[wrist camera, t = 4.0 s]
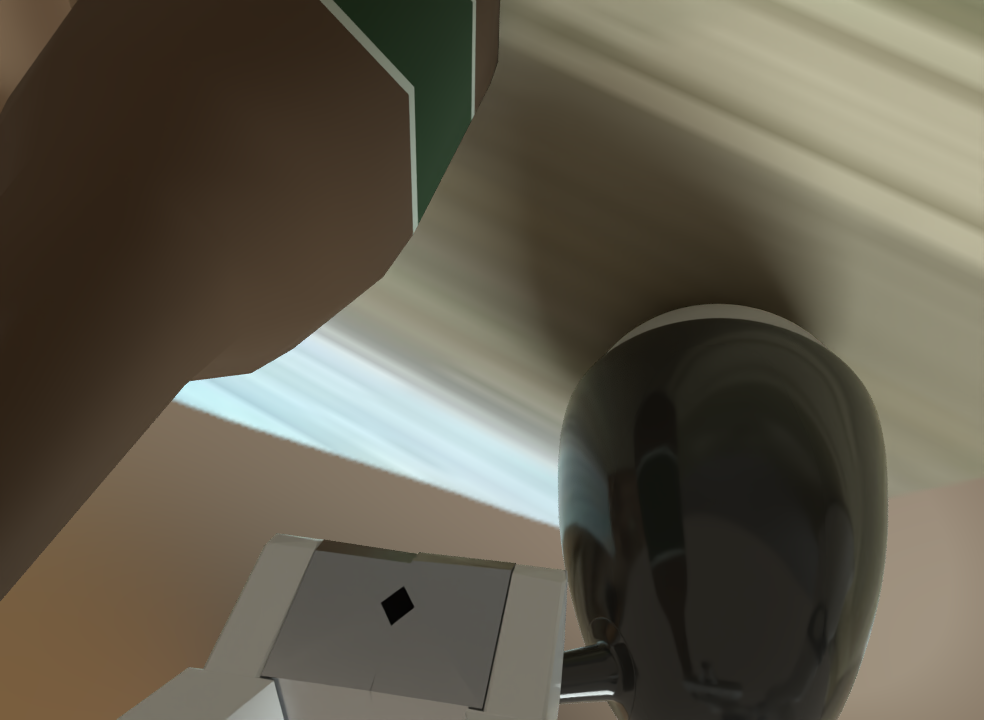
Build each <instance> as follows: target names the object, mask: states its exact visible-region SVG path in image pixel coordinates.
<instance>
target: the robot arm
mask: <svg viewBox="0 0 984 720" xmlns="http://www.w3.org/2000/svg"><path fill="white" fill-rule="evenodd" d="M567 583H568V574H567V571H566V570H559V569H551V568H543V567H535V566H527V565H519V564H516V563H510V562H501V561H492V560H482V559H474V558H465V557H456V556H447V555H439V554H429V553H421V552H419V553H418V554H415V553H408V552H402V551H395V550H389V549H382V548H376V547H369V546H362V545H356V544H349V543H343V542H336V541H330V540H321V539H314V538H307V537H300V536H292V535H285V534H276V535H275V536H274V537H273V538H272V539H271V540H270V541H269V542H268V543H267V544H266V545H265V546H264V548H263V550H262V552H261V554H260V556H259V558H258V560H257V562H256V564H255V566H254V568H253V570H252V572H251V574H250V576H249V578H248V580H247V582H246V584H245V586H244V588H243V590H242V592H241V594H240V596H239V598H238V600H237V602H236V604H235V606H234V608H233V610H232V612H231V614H230V616H229V618H228V620H227V622H226V624H225V626H224V628H223V630H222V632H221V634H220V636H219V638H218V640H217V642H216V644H215V646H214V648H213V650H212V652H211V654H210V656H209V658H208V660H207V662H206V664H205V666H204V668H203V669H198V668H187V669H186V670H184V671H183V672H182V673H180V674H179V675H177V676H176V677H175V678H173V679H172V680H171V681H169V682H168V683H166V684H165V685H164V686H162V687H161V688H159V689H158V690H157V691H155V692H154V693H153V694H151V695H150V696H148V697H147V698H146V699H144V700H143V701H142V702H140V703H139V704H137V705H136V706H135V707H133V708H132V709H130V710H129V711H128V712H126V713H125V714H124V715H122V716H121V717H119V718H118V719H117V720H557V715H558V708H559V700H560V690H561V678H562V666H563V653H564V640H565V621H566V602H567Z"/></svg>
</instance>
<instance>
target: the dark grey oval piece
mask: <svg viewBox="0 0 984 720" xmlns="http://www.w3.org/2000/svg"><path fill="white" fill-rule="evenodd" d="M558 508H559V525H560V536H561V544H562V552H563V559H564V565H565V570H566V571H567V574H568V585H569V590H570V594H571V599H572V603H573V607H574V610H575V614H576V618H577V621H578V625H579V628H580V631H581V634H582V637H583V640H584V643H585V647H581V648H576V649H572V650H567V651H564V653H563V666H562V678H561V690H560V700H559V704H569V703H585V702H601V701H607V702H608V704H609V706H610V708H611V709H612V711H613V712H614V714H615V716H616V718H617V719H618V720H837V719H838V718H839V716H840V714H841V712H842V710H843V708H844V705H845V703H846V701H847V699H848V697H849V694H850V692H851V689H852V687H853V684H854V682H855V679H856V676H857V674H858V671H859V668H860V665H861V662H862V659H863V657H864V654H865V650H866V647H867V644H868V641H869V637H870V634H871V630H872V626H873V622H874V619H875V615H876V611H877V606H878V602H879V597H880V592H881V586H882V580H883V574H884V567H885V559H886V548H887V534H888V478H887V460H886V451H885V444H884V438H883V433H882V428H881V424H880V420H879V417H878V413H877V410H876V407H875V405H874V403H873V400H872V398H871V396H870V394H869V393H868V391H867V389H866V387H865V386H864V384H863V383H862V382H861V380H860V379H859V378H858V376H857V375H856V374H855V373H854V372H853V371H852V369H851V368H850V367H849V366H848V365H847V364H846V363H844V362H843V361H842V360H841V359H840V358H839V357H837V356H836V355H835V354H833V353H832V352H831V351H830V350H829V349H828V348H827V347H826V346H825V345H824V344H822V343H821V342H820V341H819V340H818V339H817V338H815V337H814V336H813V335H812V334H810V333H809V332H807V331H806V330H804V329H803V328H801V327H800V326H798V325H796V324H794V323H793V322H791V321H789V320H787V319H785V318H783V317H780V316H778V315H775V314H773V313H770V312H767V311H764V310H760V309H756V308H752V307H747V306H740V305H733V304H705V305H696V306H690V307H685V308H680V309H677V310H673V311H670V312H667V313H664V314H662V315H659V316H657V317H655V318H653V319H650V320H648V321H646V322H645V323H643V324H641V325H640V326H638V327H636V328H635V329H633V330H632V331H630V332H629V333H628V334H626V335H625V336H624V337H622V338H621V339H620V340H619V341H618V342H617V343H616V344H615V345H614V346H613V347H612V348H611V349H610V350H609V351H608V352H607V353H606V354H605V355H604V356H603V357H602V358H600V359H599V360H598V361H597V362H596V363H595V364H594V365H593V366H592V367H591V368H590V369H589V370H588V371H587V373H586V374H585V375H584V376H583V378H582V379H581V380H580V382H579V383H578V385H577V387H576V388H575V390H574V392H573V394H572V396H571V398H570V400H569V403H568V406H567V409H566V412H565V416H564V420H563V425H562V430H561V437H560V444H559V456H558Z"/></svg>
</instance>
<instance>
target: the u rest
mask: <svg viewBox="0 0 984 720" xmlns="http://www.w3.org/2000/svg"><path fill="white" fill-rule="evenodd" d="M77 1H78V0H0V114H1V112H2V110H3V107H4V105H5V103H6V101H7V99H8V98H9V96H10V95H11V93H12V92H13V91H14V89H15V88H16V86H17V85H18V84H19V82H20V81H21V79H22V78H23V76H24V75H25V74H26V72H27V71H28V69H29V68H30V67H31V65H32V64H33V62H34V61H35V60H36V58H37V57H38V55H39V54H40V53H41V51H42V50H43V48H44V47H45V46H46V44H47V43H48V41H49V40H50V39H51V37H52V36H53V34H54V33H55V31H56V30H57V29H58V27H59V26H60V24H61V23H62V22H63V20H64V19H65V17H66V16H67V15H68V13H69V12H70V10H71V9H72V8H73V6H74V5H75V3H76V2H77Z"/></svg>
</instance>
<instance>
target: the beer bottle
mask: <svg viewBox="0 0 984 720" xmlns="http://www.w3.org/2000/svg"><path fill="white" fill-rule="evenodd" d="M499 13H500V0H78V1H77V2H76V3H75V5H74V6H73V8H72V9H71V10H70V12H69V13H68V15H67V16H66V17H65V19H64V20H63V22H62V23H61V24H60V26H59V27H58V29H57V30H56V31H55V33H54V34H53V36H52V37H51V39H50V40H49V41H48V43H47V44H46V46H45V47H44V48H43V50H42V51H41V53H40V54H39V55H38V57H37V58H36V60H35V61H34V62H33V64H32V65H31V67H30V68H29V69H28V71H27V72H26V74H25V75H24V76H23V78H22V79H21V81H20V82H19V84H18V85H17V86H16V88H15V89H14V91H13V92H12V93H11V95H10V96H9V98H8V99H7V101H6V103H5V105H4V107H3V110H2V112H1V114H0V601H1V600H2V599H3V598H4V596H5V595H6V594H7V593H8V592H9V591H10V589H11V588H12V587H13V586H14V585H15V584H16V582H17V581H18V580H19V579H20V578H21V576H22V575H23V574H24V573H25V572H26V570H27V569H28V568H29V567H30V566H31V565H32V564H33V562H34V561H35V560H36V559H37V558H38V557H39V555H40V554H41V553H42V552H43V551H44V550H45V548H46V547H47V546H48V545H49V544H50V543H51V541H52V540H53V539H54V538H55V537H56V535H57V534H58V533H59V532H60V531H61V529H62V528H63V527H64V526H65V525H66V524H67V523H68V521H69V520H70V519H71V518H72V517H73V515H74V514H75V513H76V512H77V511H78V510H79V509H80V507H81V506H82V505H83V504H84V503H85V501H86V500H87V499H88V498H89V497H90V496H91V494H92V493H93V492H94V491H95V490H96V489H97V487H98V486H99V485H100V484H101V482H102V481H103V480H104V479H105V478H106V477H107V475H108V474H109V473H110V472H111V471H112V470H113V469H114V468H115V466H116V465H117V464H118V463H119V462H120V460H121V459H122V458H123V457H124V456H125V455H126V453H127V452H128V451H129V450H130V449H131V448H132V446H133V445H134V444H135V443H136V442H137V441H138V439H139V438H140V437H141V436H142V435H143V434H144V432H145V431H146V430H147V429H148V428H149V426H150V425H151V424H152V423H153V422H154V421H155V419H156V418H157V417H158V416H159V415H160V414H161V412H162V411H163V410H164V409H165V408H166V407H167V405H168V404H169V403H170V402H171V401H172V400H173V398H174V397H175V396H176V395H177V394H178V393H179V391H180V390H181V389H182V388H183V387H184V385H186V384H187V383H188V382H189V381H194V380H202V379H210V378H217V377H225V376H233V375H241V374H249V373H252V372H254V371H256V370H257V369H259V368H261V367H263V366H264V365H266V364H268V363H269V362H271V361H273V360H275V359H276V358H278V357H280V356H281V355H283V354H285V353H287V352H288V351H290V350H292V349H293V348H295V347H296V346H297V345H298V344H300V343H301V342H302V341H303V340H305V339H306V338H307V337H308V336H310V335H311V334H312V333H313V332H315V331H316V330H317V329H318V328H320V327H321V326H322V325H323V324H325V323H326V322H327V321H328V320H330V319H331V318H332V317H333V316H335V315H336V314H337V313H338V312H340V311H341V310H342V309H343V308H345V307H346V306H347V305H348V304H350V303H351V302H352V301H353V300H355V299H356V298H357V297H358V296H360V295H361V294H362V293H363V292H365V291H366V290H367V289H369V288H370V287H371V286H372V285H374V284H375V283H376V282H377V281H379V280H380V279H381V278H382V277H383V276H384V275H385V273H386V272H387V271H388V269H389V268H390V266H391V265H392V264H393V262H394V261H395V259H396V258H397V256H398V255H399V254H400V252H401V251H402V249H403V248H404V247H405V245H406V244H407V242H408V241H409V240H410V238H411V237H412V235H413V234H414V232H415V230H416V228H417V226H418V224H419V222H420V220H421V218H422V216H423V214H424V212H425V210H426V208H427V206H428V204H429V202H430V200H431V199H432V197H433V195H434V193H435V191H436V189H437V187H438V185H439V183H440V181H441V179H442V177H443V175H444V173H445V171H446V169H447V167H448V165H449V163H450V161H451V159H452V158H453V156H454V154H455V152H456V150H457V148H458V146H459V144H460V142H461V140H462V138H463V136H464V134H465V132H466V130H467V128H468V126H469V124H470V122H471V120H472V118H473V117H474V115H475V113H476V111H477V109H478V107H479V105H480V103H481V101H482V99H483V97H484V95H485V93H486V91H487V89H488V87H489V85H490V83H491V80H492V77H493V74H494V71H495V69H496V66H497V63H498V48H499Z"/></svg>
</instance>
